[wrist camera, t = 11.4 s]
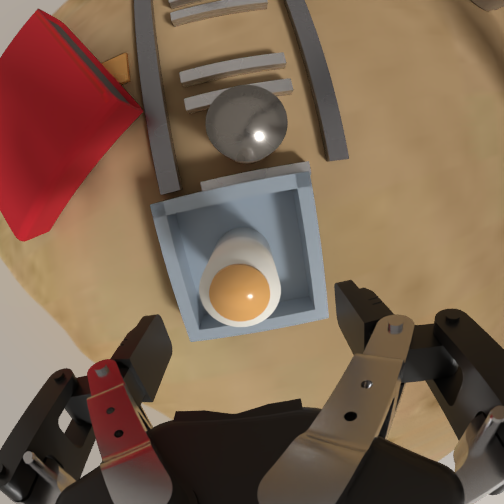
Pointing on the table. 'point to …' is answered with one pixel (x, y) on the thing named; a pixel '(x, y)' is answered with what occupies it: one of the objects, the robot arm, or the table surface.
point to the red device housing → (53, 122)
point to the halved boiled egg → (240, 279)
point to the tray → (255, 217)
